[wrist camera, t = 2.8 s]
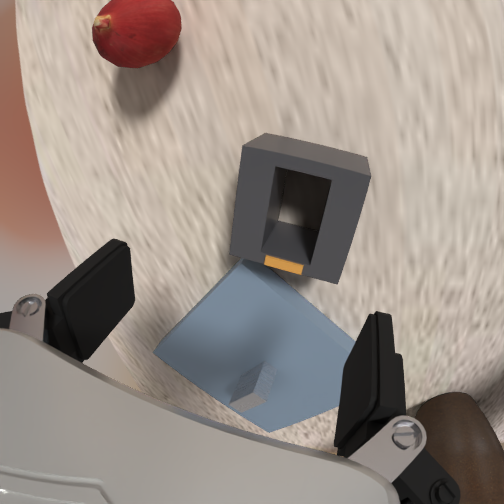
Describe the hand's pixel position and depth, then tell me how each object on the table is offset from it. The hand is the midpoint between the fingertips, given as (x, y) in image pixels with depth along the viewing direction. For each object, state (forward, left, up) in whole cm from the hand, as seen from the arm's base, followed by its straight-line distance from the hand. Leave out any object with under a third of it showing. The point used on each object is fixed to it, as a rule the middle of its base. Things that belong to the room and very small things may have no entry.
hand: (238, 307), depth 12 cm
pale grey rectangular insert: (-9, +16, -11) cm, 21 cm away
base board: (-9, +16, -13) cm, 23 cm away
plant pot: (-30, +6, -14) cm, 34 cm away
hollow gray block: (0, 0, -13) cm, 13 cm away
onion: (+16, -3, -14) cm, 21 cm away
